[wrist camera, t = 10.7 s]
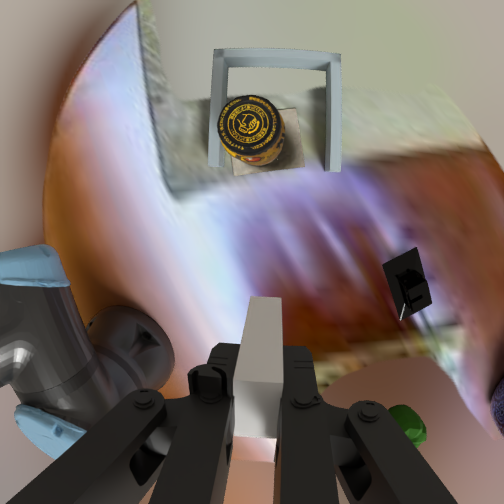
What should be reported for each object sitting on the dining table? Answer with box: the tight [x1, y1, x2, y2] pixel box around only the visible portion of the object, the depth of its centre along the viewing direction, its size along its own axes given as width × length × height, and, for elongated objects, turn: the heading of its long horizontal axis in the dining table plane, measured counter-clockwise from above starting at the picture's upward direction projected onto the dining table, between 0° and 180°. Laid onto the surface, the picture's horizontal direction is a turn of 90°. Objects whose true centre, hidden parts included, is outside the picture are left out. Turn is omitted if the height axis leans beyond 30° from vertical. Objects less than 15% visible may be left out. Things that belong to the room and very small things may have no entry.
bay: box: [208, 48, 342, 172], centre depth 31 cm, size 14×14×4 cm
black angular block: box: [382, 247, 432, 320], centre depth 35 cm, size 12×7×5 cm, turn 26°
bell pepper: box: [388, 405, 427, 448], centre depth 38 cm, size 8×8×10 cm
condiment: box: [217, 95, 305, 176], centre depth 28 cm, size 7×8×12 cm
